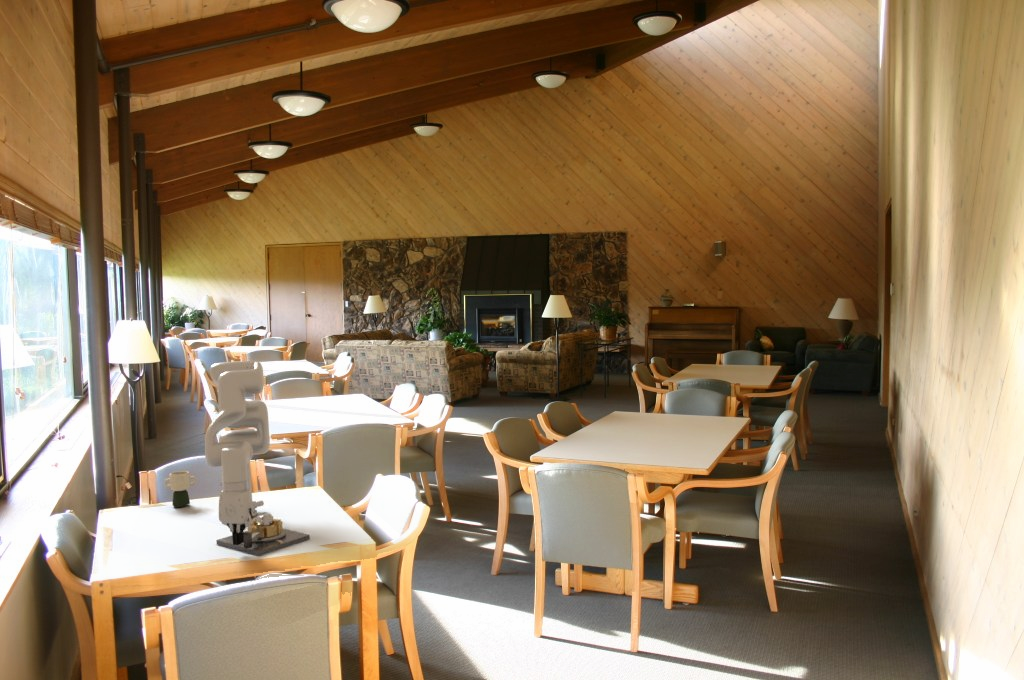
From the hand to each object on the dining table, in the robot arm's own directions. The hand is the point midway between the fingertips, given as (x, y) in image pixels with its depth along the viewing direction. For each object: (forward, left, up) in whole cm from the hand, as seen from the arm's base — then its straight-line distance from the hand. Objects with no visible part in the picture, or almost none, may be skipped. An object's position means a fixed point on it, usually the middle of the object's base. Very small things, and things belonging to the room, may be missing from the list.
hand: (238, 543), depth 268 cm
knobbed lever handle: (-9, -1, -1) cm, 9 cm away
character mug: (-24, -70, -3) cm, 74 cm away
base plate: (-12, -4, -3) cm, 13 cm away
